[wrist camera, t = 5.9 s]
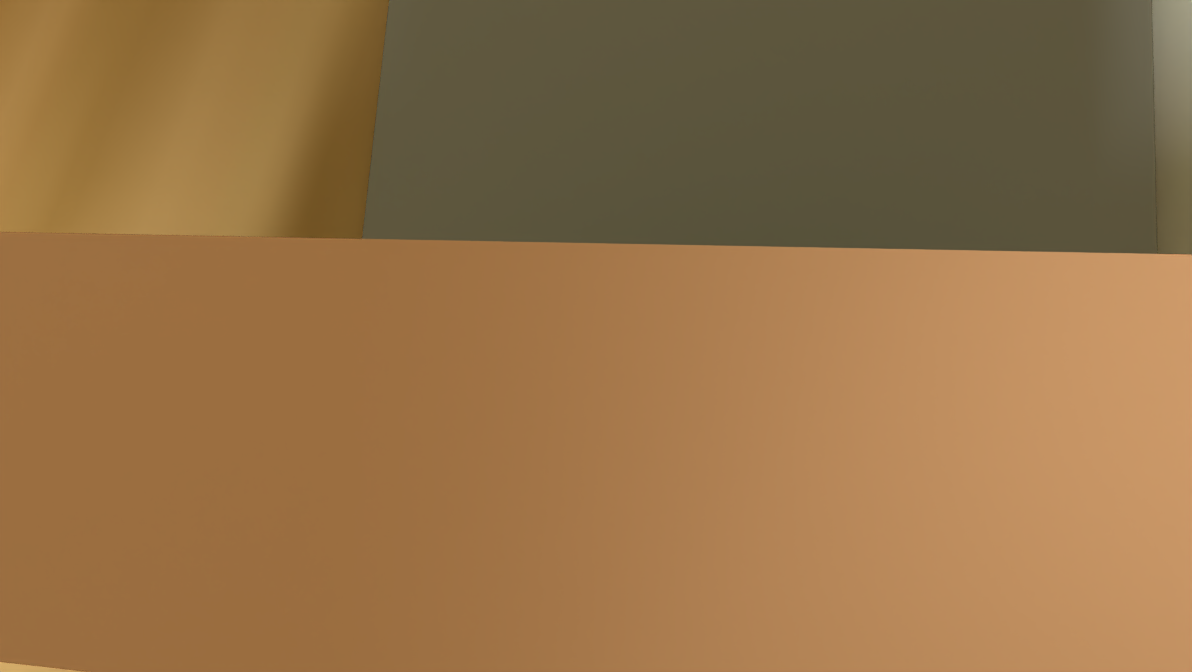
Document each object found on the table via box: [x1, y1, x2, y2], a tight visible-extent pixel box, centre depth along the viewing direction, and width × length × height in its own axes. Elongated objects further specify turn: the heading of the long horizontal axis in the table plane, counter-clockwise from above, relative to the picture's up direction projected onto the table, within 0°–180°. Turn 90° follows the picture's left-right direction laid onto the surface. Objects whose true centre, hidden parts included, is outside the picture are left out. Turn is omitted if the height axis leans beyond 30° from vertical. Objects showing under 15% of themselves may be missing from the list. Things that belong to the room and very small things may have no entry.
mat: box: [362, 0, 1157, 254], centre depth 18 cm, size 12×13×1 cm
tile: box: [0, 232, 1192, 672], centre depth 11 cm, size 10×3×12 cm, turn 86°
